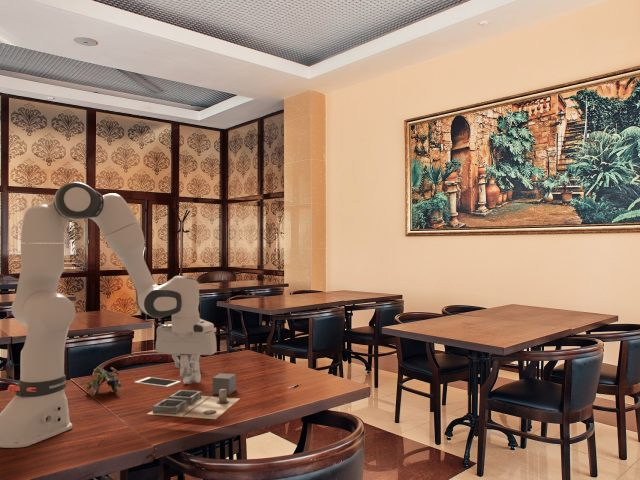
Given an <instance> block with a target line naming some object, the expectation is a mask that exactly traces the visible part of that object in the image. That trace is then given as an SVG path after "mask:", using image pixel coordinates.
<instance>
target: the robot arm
mask: <svg viewBox="0 0 640 480" xmlns="http://www.w3.org/2000/svg"><path fill="white" fill-rule="evenodd" d="M85 219H89V220H92V221H93V222H94V223H95V224H96V225H97V226H98V228H99V230H100V233H101V235H102V237H103V238H104V240H105V242H106V243H107V245H108V246H109V248H110V250H111V251H112V253H114V255H115V256H116V257H117V258H118V260H119V261H120V262H121V263H122V265H123V266H124V268H125V270H126V272H127V274H128V276H129V278H130V280H131V282H132V284H133V286H134V289H135V302H136V306H137V308H138V310H139V311H140V312H141V313H143V314H145V315H148V316H150V317H152V318H156V319H161V318H164V317H169V316H171V324H160V325H159V326H158V327H157V328H156V338H155V339H156V341H155V351H156V353H158V354H170V355H171V358H172V360H173V361H174V366H175V368H180V358H179V357H178V356H180V354H193V357H194V358H195V359H194V361H193V362H191V363H190V365H191V366H190V367H191V368H196V367H197V361H198V359H199V358H201V355H203V356H212V355H213V354H215V353H216V351H217V337H216V333H215V332H214V331H213V330H214V328H215V324H214V323H212V322H210V321H207V320H205V319H202V318H201V317H200V312H199V307H200V306H199V305H200V289H199V283H198V280H196V278H194V277H191V276H185V275H175V276H173V277H172V278H171V279H169V280H168V281H166V282H165V283H162V284H160V285H159V284H158V283H157V282H156V281H155V280H154V278H153V276H152V274H151V271H150V270H149V267H148V265H147V262H146V261H145V257H144V248H145V243H146V241H145V236H144V232H143V230H142V226H141V225H140V222H139V221H138V219H137V217H136V215H135V213H134V212H133V210H132V208H131V207H130V206H129V204H128V203H127V201H126V199H124V197H123V196H122V195H120V194H118V193H107V194H104V195H102V194H101V192H99V191H97V190H96V189H94V188H92V187H91V186H90V185H88V184H85V183H84V182H80V181H70V182H67V183H65V184H63V185H62V186H60V187H59V188H58V189H57V190H56V192H55V194H54V195H53V198H52V200H51V201H50V203H46V204H36V205H33V206H30V207H28V208H27V209H26V211H25V213H24V217H23V221H22V226H21V233H20V234H21V236H20V273H19V277H18V282H17V287H16V292H15V298H14V299H13V301H12V304H11V307H10V309H11V313H12V316H13V318H14V319H15V320H16V321H17V322H18V323H19V324H20V325H22V326H24V327H27V329H26V330H27V332H26V337H25V341H24V344H23V347H22V349H21V351H20V364H19V365H20V375H19V377H20V379H19V380H18V382H17V384H10V385H8V387H7V392H8V393H14V394H15V395H14V397H13V398H12V399H11V400H9V401H10V402H8V403H7V404H6V406H5V407H4V409H3V410H1V412H0V448H6V449H7V448H8V449H9V448H11V449H14V448H24V447H29V446H31V445H33V444H37V443H39V442H42V441H43V440H47V439H49V438H51V437H54V436H57V435H59V434H61V433H64V432H67V431H69V430H71V429H73V423H72V422H71V420H70V419H71V418H70V411H69V404H68V403H69V402H68V397H67V396H66V393H65V389H66V386H67V383H66V382H67V379H66V374H65V349H66V342H67V338H68V333H69V329H70V326H71V324H72V323H73V322H74V320H75V319H76V318H75V317H76V306H75V305H74V302H72V301H71V300H70V299H69V298H68V297H67V296H66V295H64V294H62V293H60V292H59V293H58V286H59V283H60V279H61V277H62V274H63V273H64V271H65V232H66V230H65V229H66V226H67V224H68V223H70V222H71V223H72V222H75V221H81V220H85ZM199 360H200V359H199Z"/></svg>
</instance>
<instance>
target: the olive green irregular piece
mask: <svg viewBox="0 0 640 480" xmlns="http://www.w3.org/2000/svg"><path fill="white" fill-rule="evenodd" d="M110 370H112V372H109V371H107V370H105V369H104V368H101V367H99V366H98V367H97V370H96V369H95V368H94V369H93V373H94V374H96V379H93V380H92V381H90V382H87V381H85V379H82V380H81V383H80V385H81V386H83V385H84V384H83V383H85V384H87V386H86V393H88V391H89V390H91V388H92V387H93V394H92V396H91V398H93V397H94V396H95V395H96V393H97V392H98V391H99V390H100V386H102V385H103V384H104V382H106V384H107V385H108V386H109V387H111V391H112V392H113V393H114V392H115V393H116V392H118V391H119V390H118V388H121V387H122V384H121V381H120V379H119V378H117V377H115V376H116V375H118V376H119V374H120V372H119V371H118V370H117V369H116V368H114V367H112V366H111V367H110ZM115 374H116V375H115ZM117 387H118V388H117Z"/></svg>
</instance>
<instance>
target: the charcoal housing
mask: <svg viewBox="0 0 640 480" xmlns="http://www.w3.org/2000/svg"><path fill="white" fill-rule="evenodd" d="M236 378H237V374H236V373H220V372H219V373H218V374H217V375H215V376H213V377H212V395H219V390H220V389H227V396H230V395H231V394H233V393H235V391H237V382H236V381H237V379H236Z"/></svg>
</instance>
